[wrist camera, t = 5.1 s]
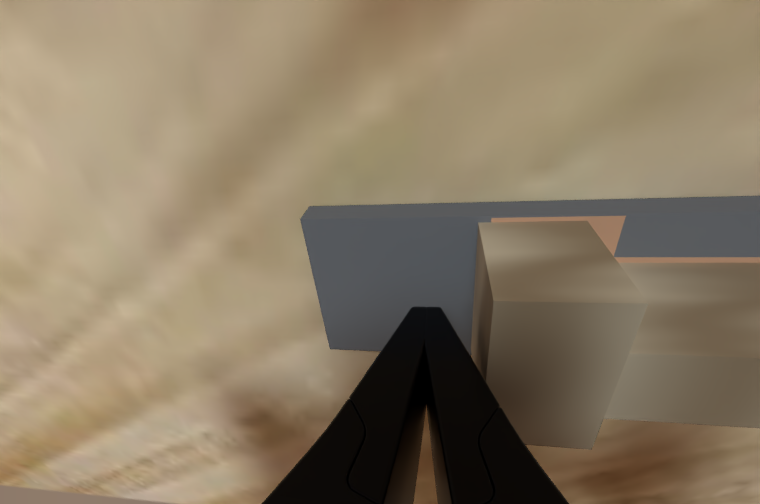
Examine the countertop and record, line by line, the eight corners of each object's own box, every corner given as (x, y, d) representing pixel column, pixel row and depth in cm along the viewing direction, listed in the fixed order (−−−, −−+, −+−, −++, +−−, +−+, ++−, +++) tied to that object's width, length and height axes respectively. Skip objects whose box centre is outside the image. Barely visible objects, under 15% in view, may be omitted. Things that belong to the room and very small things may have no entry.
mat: (847, 193, 8) (883, 209, 8) (750, 346, 11) (770, 367, 10) (309, 206, 10) (300, 219, 10) (335, 332, 13) (329, 349, 12)
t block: (811, 216, 8) (985, 308, 5) (727, 357, 10) (821, 467, 8) (478, 222, 9) (494, 301, 6) (471, 347, 11) (480, 441, 9)
